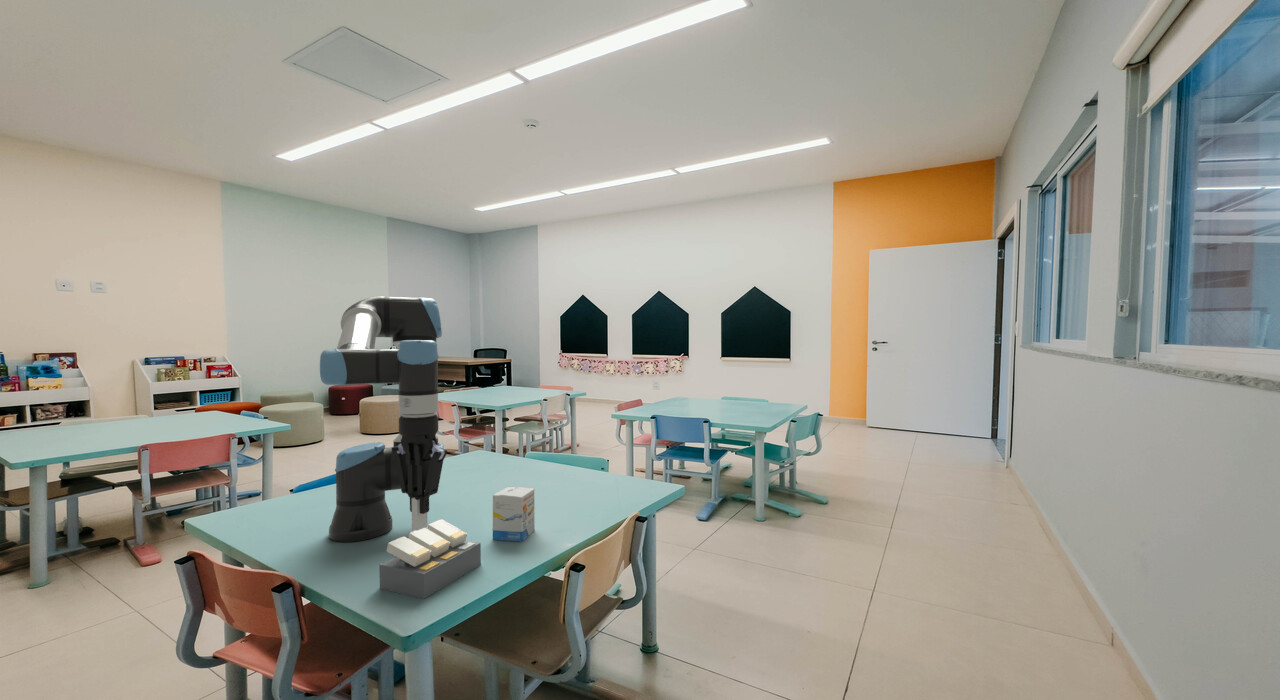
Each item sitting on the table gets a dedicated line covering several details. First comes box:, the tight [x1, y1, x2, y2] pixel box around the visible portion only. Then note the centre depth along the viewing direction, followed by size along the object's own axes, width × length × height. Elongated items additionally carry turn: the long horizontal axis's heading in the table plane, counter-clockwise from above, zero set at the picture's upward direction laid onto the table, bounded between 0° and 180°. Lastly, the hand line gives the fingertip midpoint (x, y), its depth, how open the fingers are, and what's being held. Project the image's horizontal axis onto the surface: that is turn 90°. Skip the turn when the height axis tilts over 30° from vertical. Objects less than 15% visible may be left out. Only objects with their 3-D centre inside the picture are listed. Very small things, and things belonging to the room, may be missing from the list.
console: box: [378, 539, 482, 600], centre depth 111 cm, size 12×17×6 cm
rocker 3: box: [427, 518, 468, 547], centre depth 117 cm, size 8×4×2 cm, turn 68°
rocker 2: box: [407, 527, 450, 557], centre depth 112 cm, size 8×4×2 cm, turn 68°
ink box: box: [492, 486, 536, 542], centre depth 135 cm, size 9×8×12 cm
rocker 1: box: [386, 535, 431, 567], centre depth 107 cm, size 8×4×2 cm, turn 68°
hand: (419, 527), depth 106 cm, fingers closed
